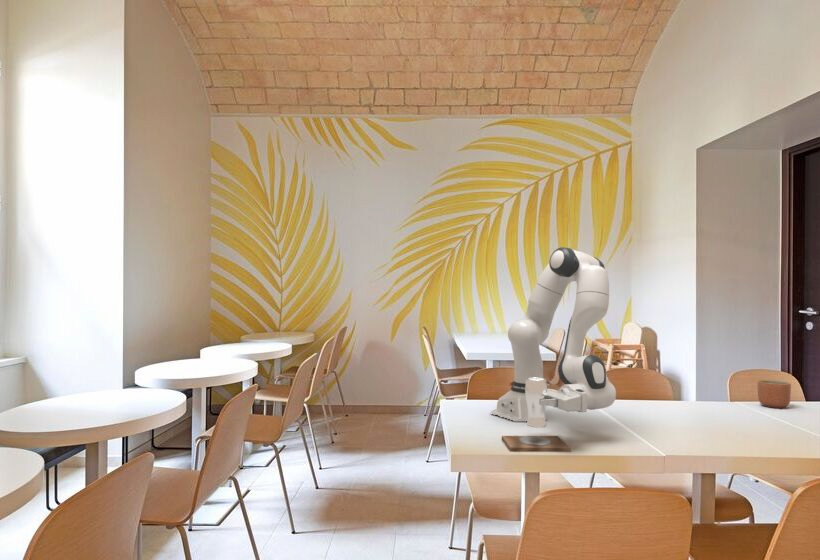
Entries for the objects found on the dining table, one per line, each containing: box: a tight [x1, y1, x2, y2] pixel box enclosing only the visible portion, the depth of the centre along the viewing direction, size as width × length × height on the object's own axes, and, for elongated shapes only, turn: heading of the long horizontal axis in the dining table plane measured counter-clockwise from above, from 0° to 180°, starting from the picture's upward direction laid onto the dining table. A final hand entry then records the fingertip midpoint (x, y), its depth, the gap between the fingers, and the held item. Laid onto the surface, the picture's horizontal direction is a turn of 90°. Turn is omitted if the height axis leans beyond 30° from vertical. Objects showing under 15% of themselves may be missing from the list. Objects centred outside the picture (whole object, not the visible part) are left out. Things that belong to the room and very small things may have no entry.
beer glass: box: [525, 377, 548, 428], centre depth 182 cm, size 7×7×15 cm
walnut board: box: [501, 435, 572, 453], centre depth 182 cm, size 19×14×2 cm
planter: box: [757, 379, 792, 409], centre depth 248 cm, size 12×12×11 cm
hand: (534, 400), depth 181 cm, fingers closed on beer glass, 6 cm apart
